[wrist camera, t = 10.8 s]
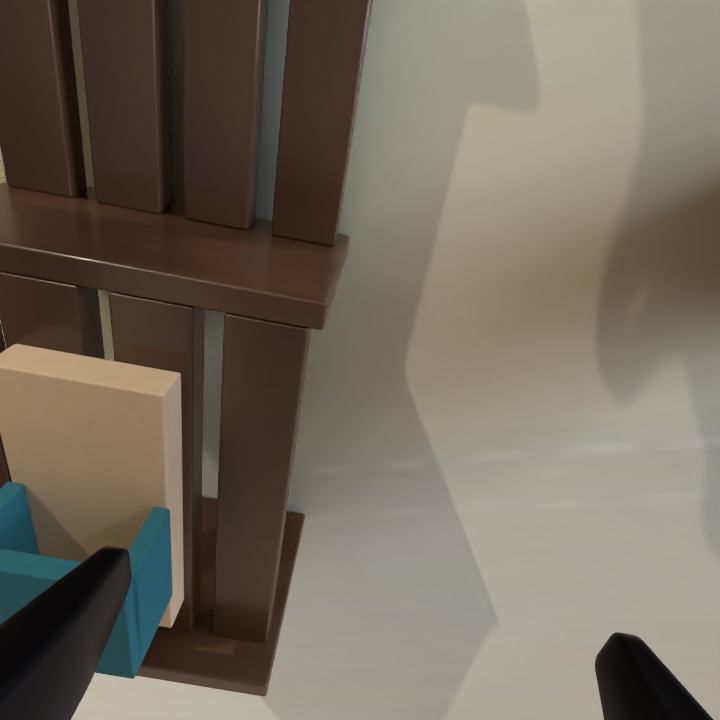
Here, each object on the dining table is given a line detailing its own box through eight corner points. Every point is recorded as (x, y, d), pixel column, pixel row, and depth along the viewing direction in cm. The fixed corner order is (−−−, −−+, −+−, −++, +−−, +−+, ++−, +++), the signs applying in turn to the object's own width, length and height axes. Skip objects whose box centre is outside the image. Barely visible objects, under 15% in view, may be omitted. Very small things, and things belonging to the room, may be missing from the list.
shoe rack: (453, -404, 11) (580, -1497, 3) (303, 524, 26) (266, 697, 18) (-71, -522, 11) (-1168, -1997, 3) (80, 485, 25) (-52, 646, 18)
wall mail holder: (185, 373, 13) (111, 467, 10) (187, 598, 18) (138, 715, 14) (11, 341, 13) (-126, 426, 10) (60, 577, 18) (-20, 690, 14)
